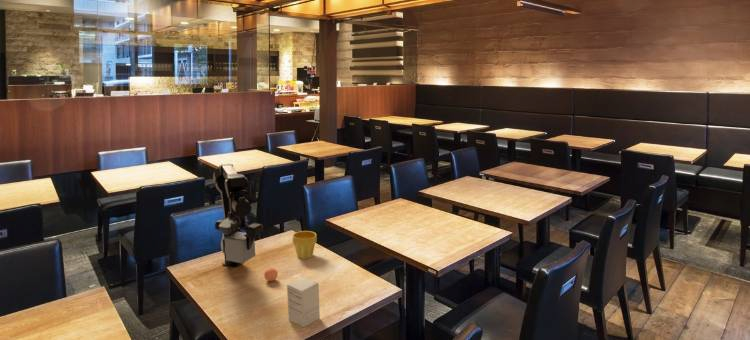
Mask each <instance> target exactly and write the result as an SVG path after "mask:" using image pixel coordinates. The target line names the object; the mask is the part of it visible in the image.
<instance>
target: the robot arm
mask: <svg viewBox="0 0 750 340" xmlns="http://www.w3.org/2000/svg"><path fill="white" fill-rule="evenodd" d="M212 179H213V184H215V188H216V190H217V191H218V192H219V193H220V196H221V204H222V212H223V218H222V219H219V220H217V221H216V222H215V223H214V229H215V230H218V231H219V232H220V233H221V234H222V238H221V241H220V249H221V252H222V253H223V254H224V262H223V263H222V265H223V266H228V267H233V268H236V267H237V266H239V265H240V264H241V265H242V263H237V262H233V261H228V260H226V253H225V239H224V238H226V237H228V236H230V235H232V234H234V233H236V232H242V231H245V232H244V233H246V234H245V235H244V236H245V237H246V239H247V249H248V250H250V248H251V246H252V244H253V241H254V240H255V239H256V237H257V235H259V234H261V233H263V232H264V226H263V224H262V223H256V222H254V223H252V224H249V223H250V221H249V219H248V220H247V216H249V214H250V213H251V212H252V210H253V209H252V204H251V203H250V202H249V201H248V199H247V197H248V196H251V191H252V189H251V187H250V182H249V180H248V178H247V177H246V176H245V175H244V174H241V173H237V171H236V170H235V168H234V164H233V163H223V164H220V165H219V166H218V168H216V169H215V170H214V171H213V175H212Z"/></svg>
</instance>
